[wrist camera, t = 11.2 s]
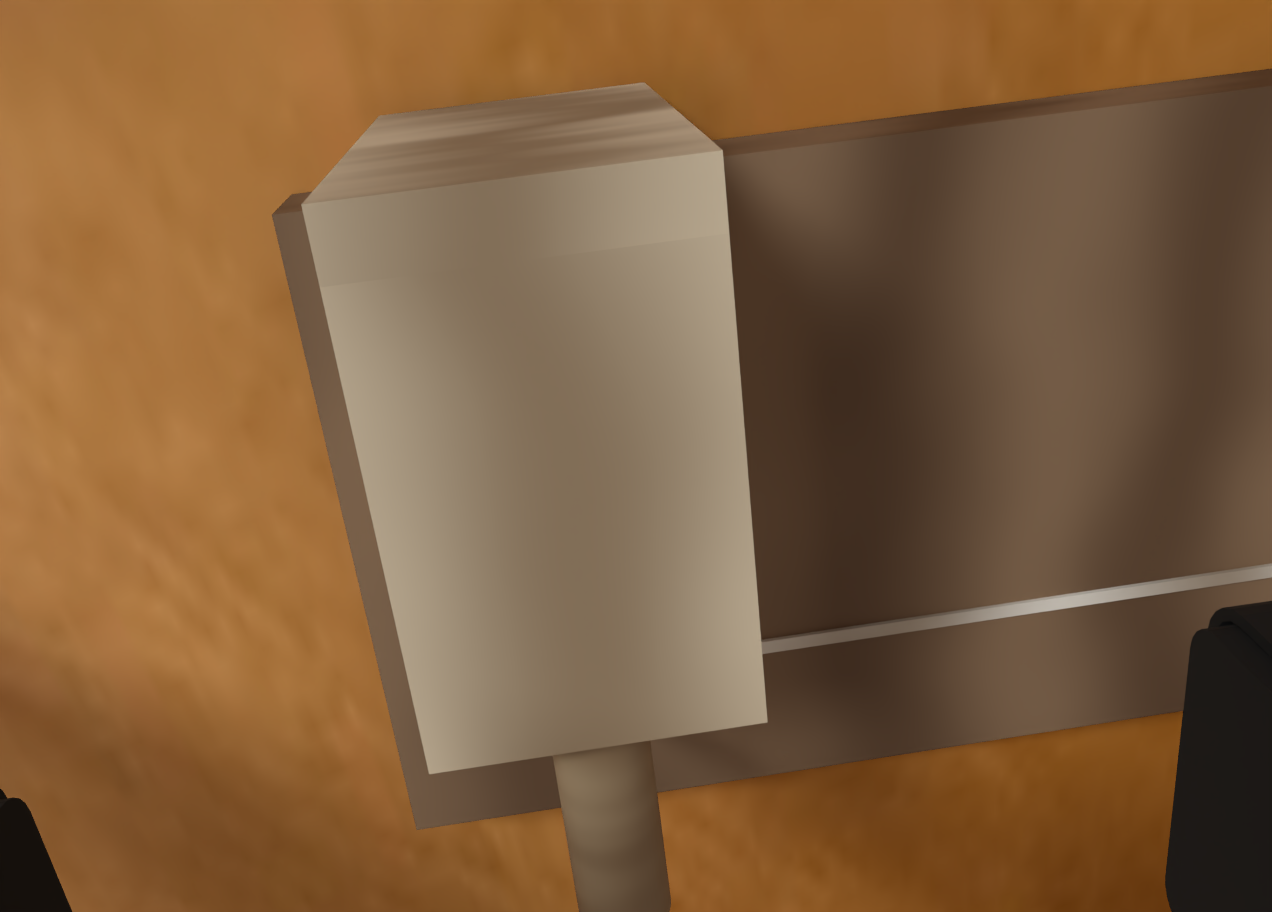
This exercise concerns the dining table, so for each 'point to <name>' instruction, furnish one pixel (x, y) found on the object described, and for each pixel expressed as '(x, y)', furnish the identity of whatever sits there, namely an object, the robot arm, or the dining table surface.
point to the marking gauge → (552, 443)
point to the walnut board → (956, 426)
